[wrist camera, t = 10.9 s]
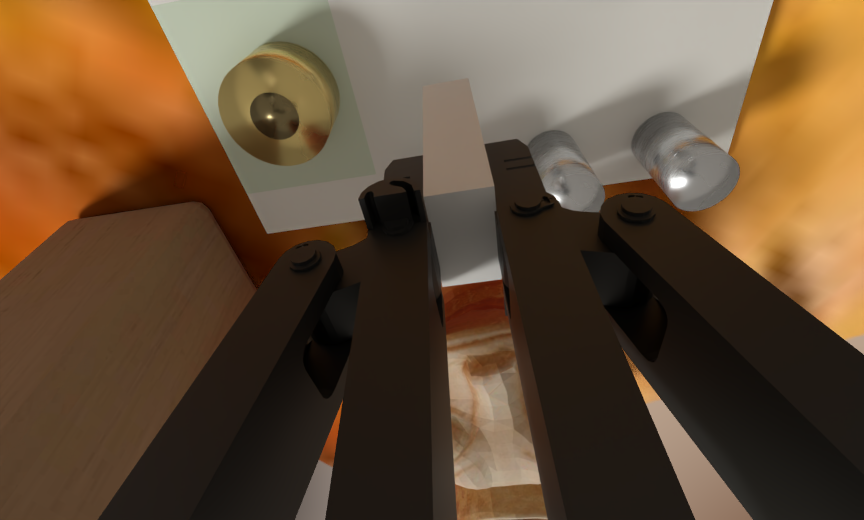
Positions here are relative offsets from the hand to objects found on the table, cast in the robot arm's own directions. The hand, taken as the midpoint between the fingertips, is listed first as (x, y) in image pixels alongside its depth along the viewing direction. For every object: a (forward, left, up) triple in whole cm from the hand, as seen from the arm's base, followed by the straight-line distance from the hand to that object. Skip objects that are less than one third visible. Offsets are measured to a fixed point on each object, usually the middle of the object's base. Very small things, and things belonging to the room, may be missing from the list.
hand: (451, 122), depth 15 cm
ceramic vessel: (+22, +1, -10) cm, 24 cm away
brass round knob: (0, -8, -8) cm, 12 cm away
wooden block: (+11, -21, -9) cm, 25 cm away
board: (+1, +1, -9) cm, 9 cm away
